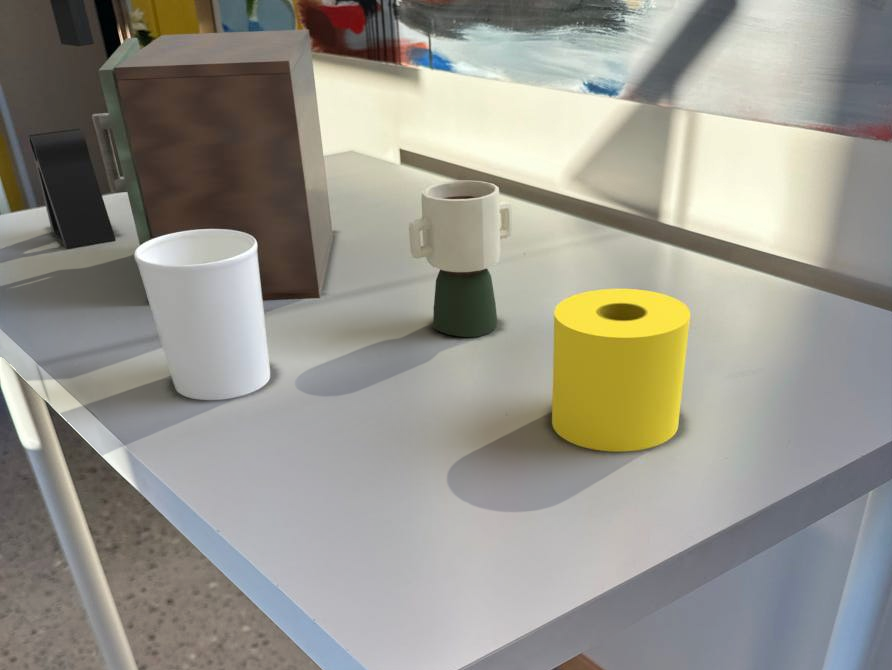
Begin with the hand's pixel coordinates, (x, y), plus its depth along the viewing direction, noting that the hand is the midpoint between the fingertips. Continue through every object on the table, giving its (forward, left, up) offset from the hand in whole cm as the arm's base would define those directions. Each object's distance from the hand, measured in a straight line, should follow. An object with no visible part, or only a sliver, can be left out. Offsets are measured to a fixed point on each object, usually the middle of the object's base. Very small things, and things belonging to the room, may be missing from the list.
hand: (77, 43), depth 82 cm
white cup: (+10, -15, -25) cm, 31 cm away
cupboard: (+9, +17, -25) cm, 31 cm away
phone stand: (-15, +33, -25) cm, 44 cm away
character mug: (+32, -5, -25) cm, 41 cm away
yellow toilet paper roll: (+43, -27, -25) cm, 57 cm away
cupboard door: (-4, +16, -25) cm, 30 cm away
